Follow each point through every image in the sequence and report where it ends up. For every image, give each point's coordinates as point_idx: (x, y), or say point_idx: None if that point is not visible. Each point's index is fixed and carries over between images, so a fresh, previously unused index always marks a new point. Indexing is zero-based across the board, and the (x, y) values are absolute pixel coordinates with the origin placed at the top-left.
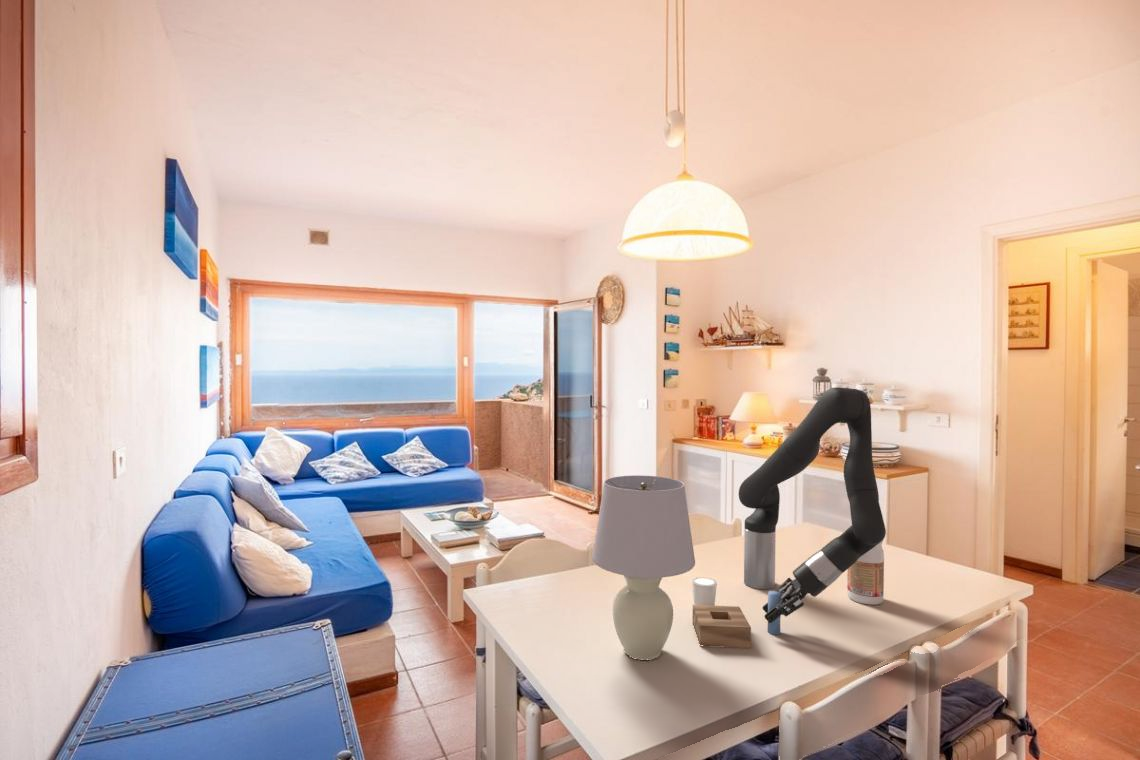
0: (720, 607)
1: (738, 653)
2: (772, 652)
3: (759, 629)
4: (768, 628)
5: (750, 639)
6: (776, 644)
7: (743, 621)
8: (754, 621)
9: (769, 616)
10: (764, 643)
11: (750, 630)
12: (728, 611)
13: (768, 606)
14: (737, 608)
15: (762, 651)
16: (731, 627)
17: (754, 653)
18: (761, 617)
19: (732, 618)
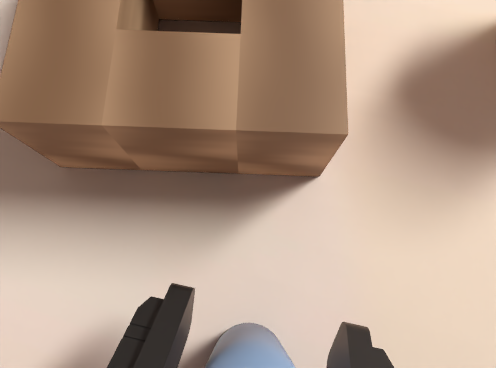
0: (314, 6)
1: None
2: (6, 268)
3: (281, 281)
4: (240, 326)
5: (38, 150)
6: (94, 323)
7: (86, 97)
8: (389, 283)
9: (136, 315)
10: (109, 256)
11: (2, 127)
12: (251, 40)
13: (244, 349)
14: (310, 112)
15: (23, 217)
16: (21, 11)
17: (8, 171)
18: (457, 348)
19: (136, 39)
